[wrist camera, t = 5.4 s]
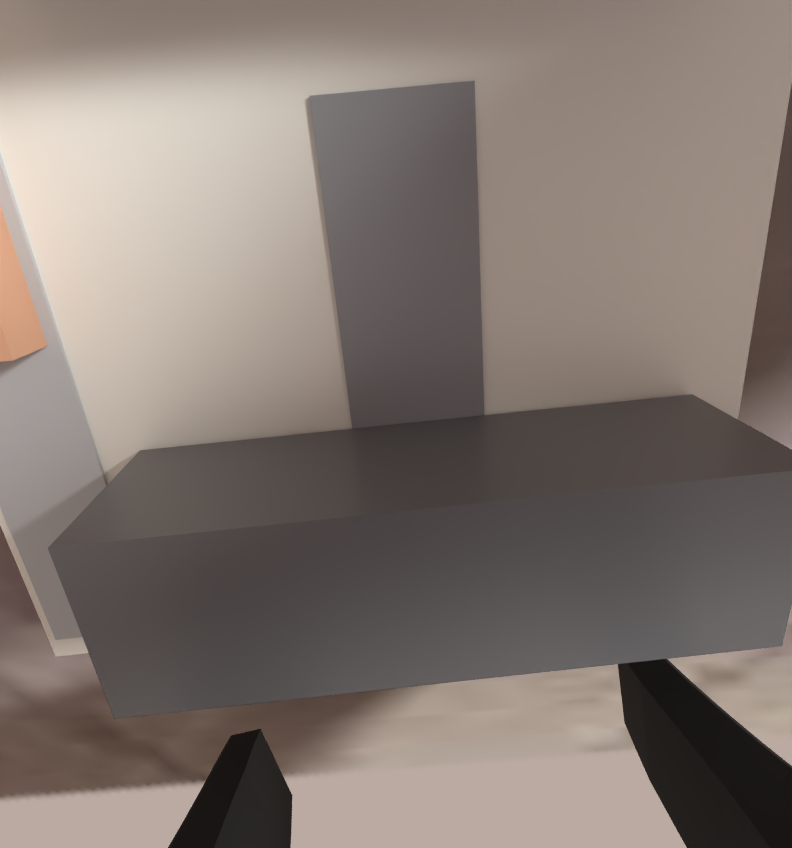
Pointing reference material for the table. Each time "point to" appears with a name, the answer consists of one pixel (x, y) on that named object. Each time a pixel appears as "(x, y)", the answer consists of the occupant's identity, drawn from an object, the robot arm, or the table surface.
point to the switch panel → (364, 222)
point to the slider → (430, 554)
